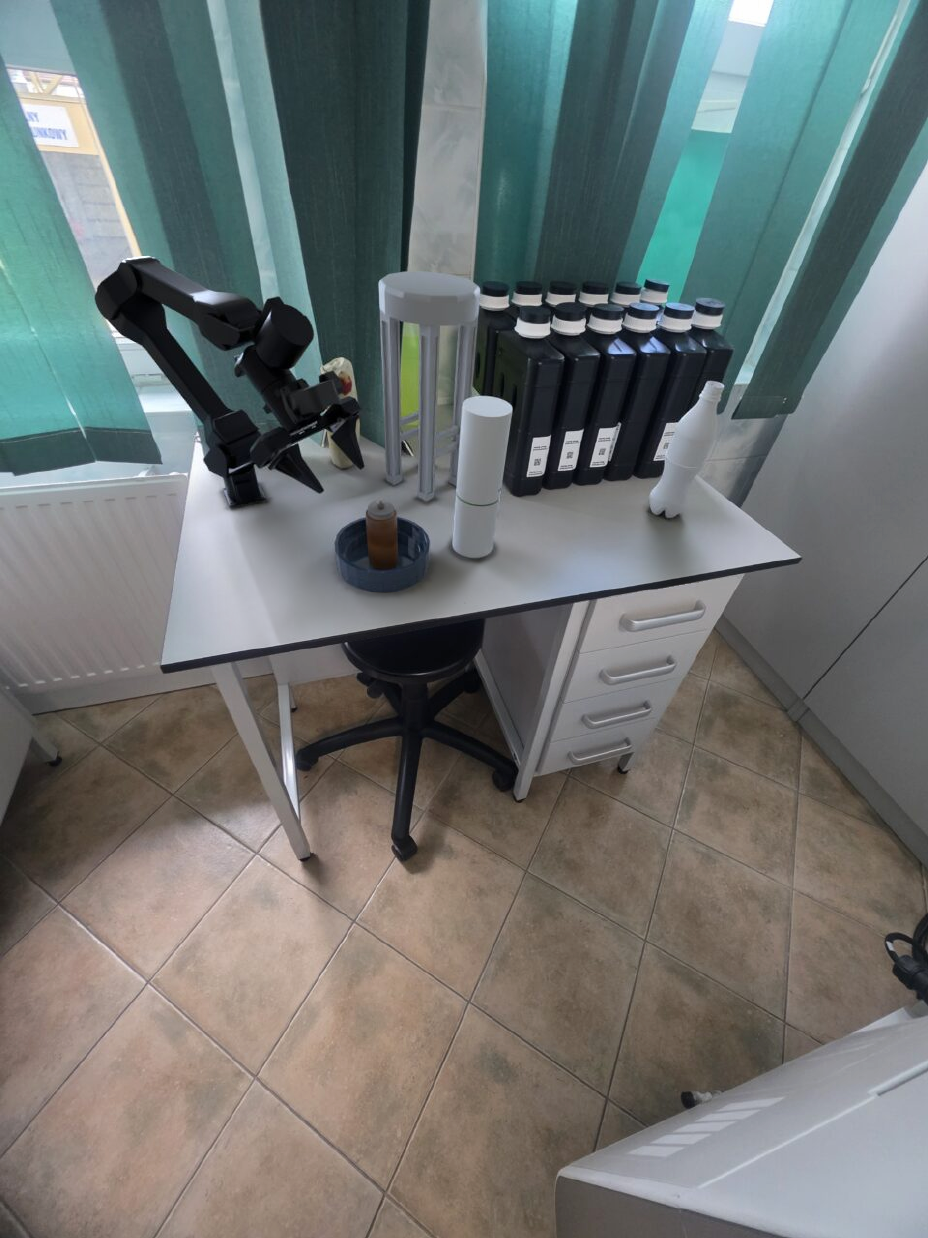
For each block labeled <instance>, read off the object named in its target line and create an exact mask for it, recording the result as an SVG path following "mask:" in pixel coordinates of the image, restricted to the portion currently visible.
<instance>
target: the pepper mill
mask: <svg viewBox="0 0 928 1238" xmlns="http://www.w3.org/2000/svg"><path fill="white" fill-rule="evenodd" d="M365 517H366V529H367V542H368V555H369V564H370V566H371V567H373V568H374V569H376V570H390V569H393V568H394V567H395V566H396V565H397V564H398V535H397V517H398V511H397V510H396V508H395V506H394V504H393V503H392V502H390V501H388V500H382V499H381V500H379V499H378V500H374V501H372V502H370V503H369V504H368V505H367V509H366V510H365Z"/></svg>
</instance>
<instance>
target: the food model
mask: <svg viewBox="0 0 928 1238" xmlns="http://www.w3.org/2000/svg"><path fill="white" fill-rule="evenodd" d="M332 370H333V371H334V372H335V373H336V375H337V376H338V377H339V379H340V380H341V382H342V384H343V387H344V392H343V393H341V394H339V398H340V400H341V399H343V398H345V397H347V396H350V397H353V398H355V399H356V400H357V402H358V403H359V401H358V392H357V386H356V382H355V380H356V379H355V375H354V369H353V364H352V362H351V361H350V360H348V359H347V358H346V357H341V356H340V357H336V358H333V359H332V360H331V361H329V362H328V363H326V364H324V365H323V364H321V366H320V369H319V371H320V375H321V374H324V373H326V372H329V371H332ZM329 407H330V406H328V407H327V409H326V410H325V411H324V412H323V414H324V413H325V412H326V411H327V410H328V409H329ZM360 427H361V426H360V418H359V419H358V420H357V421H356V436H357V440H358V444H359V445H360ZM326 434H327V440H328V447H329V454H330V459H331V461H332V464H333V465H334V466H336V467H338V468H340V469H346V468H350V467H352V466H353V465H354V464H353V463H352V461H351V460H350V459H349V458H348V457H347V456H346V455H345V454H344V452H343V451H342V450H341V449H340V448H339V447H338V446H337V445H336V444H335V442H334V441H333V440H332V439H331V438H330V437H331V436H332V435H333V433H332V432H329V431H327V430H326Z"/></svg>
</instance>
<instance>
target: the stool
mask: <svg viewBox="0 0 928 1238" xmlns="http://www.w3.org/2000/svg"><path fill="white" fill-rule="evenodd" d="M480 301H481V288H480V286H479V285H478V284H476V283H475V282H473V281H472V280H471V279H468V278H465V277H461V276H458V275H454V274H450V273H442V272H435V271H434V272H433V271H413V270H412V271H411V270H410V271H409V270H408V271H407V270H406V271H400V272H393V273H388V274H387V275H385V276H384V277H382V278H381V279H380V280H379V281H378V304H379V306H378V307H379V329H380V331H379V332H380V353H381V354H380V356H381V381H382V383H381V384H382V404H383V408H382V409H383V428H384V429H383V431H384V454H385V455H384V456H385V457H384V459H385V481H386V482H388V483H389V484H391V485H394V486H395V485H397V484H400V483H402V482H403V469H402V468H403V463H402V461H403V459H402V457H403V456H402V451H403V450H402V442H404V441H406V440H410V439H412V438H414V437H417V436H418V437H417V439H418V440H417V497H418V498H419V499H421V500H423V501H424V502H428V501H430V500H432V499H435V482H436V481H435V478H436V459H438V458H440V457H442V456H444V455H446V454H449V453H450V460H449V461H450V462H449V477H448V479H449V480H448V481H449V482H448V483H449V484H451V485H453V486H455V487H457V474H458V460H459V447H460V433H461V420H462V406H463V402H464V401H465V400H466V399H468V398H471V397H473V396H472V395H473V387H474V386H473V385H474V373H475V361H476V360H475V359H476V350H477V338H478V337H477V336H478V324H479V314H480V313H479V312H480ZM400 322H402V323H406V324H407V323H408V324H416V325H419V327H418V336H419V337H418V340H419V341H418V410H417V411H414V412H412V413H409V414H407V415H404V416H402V395H401V394H402V393H401V391H402V390H401V387H402V386H401V328H400V327H401V325H400ZM442 326H443V327H445V326H446V327H447V326H457V343H456V344H457V345H456V360H455V377H454V378H455V379H454V394H453V412H452V426H450V427H448V428H445V429H443V430H441V431H438V432H437V424H438V423H437V422H438V421H437V420H438V399H439V398H438V394H439V393H438V392H439V367H440V339H441V338H440V337H441V327H442ZM416 421H418V426H415V427H413V428H411V429H408V430H405V431H402V427H404V426H406V425H408V424H411V423H414V422H416ZM450 437H451V442H448V443H446V444H444V445H441V446H439V447H437V443H439V442H442V441H443V440H446V439H448V438H450Z"/></svg>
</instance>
